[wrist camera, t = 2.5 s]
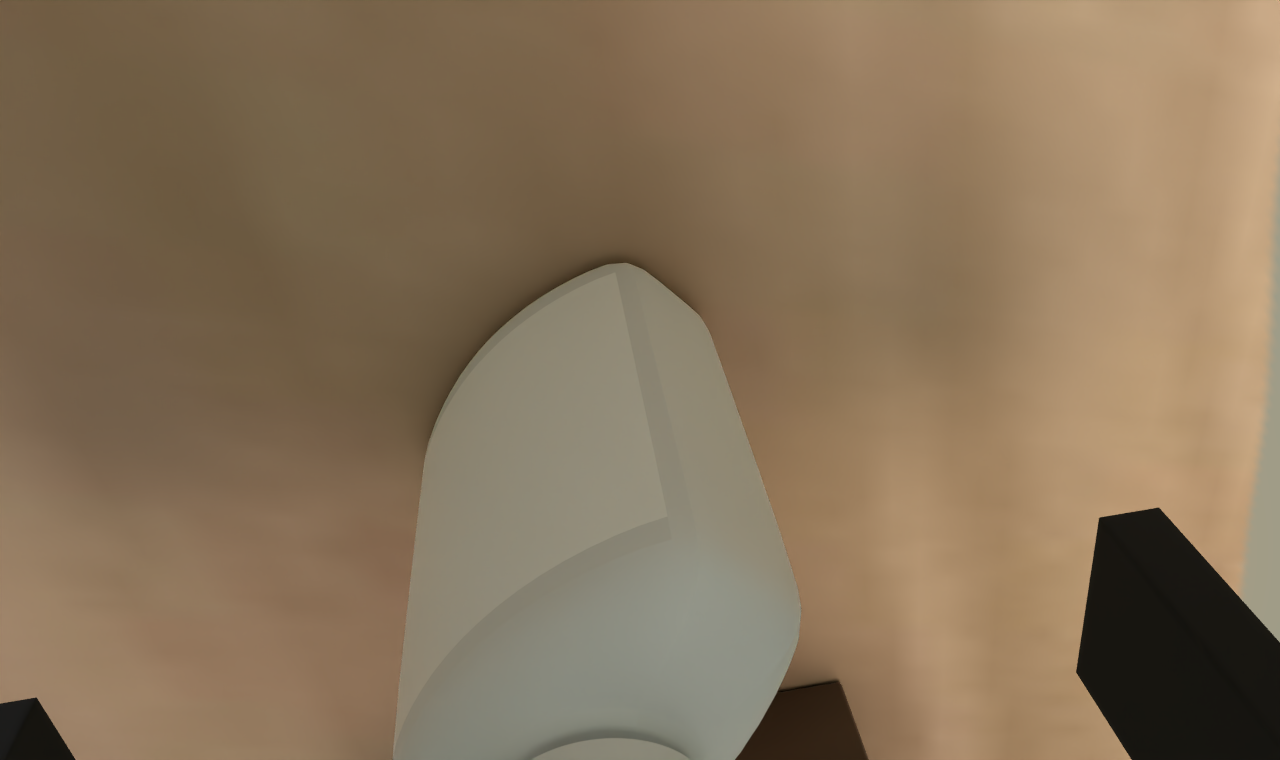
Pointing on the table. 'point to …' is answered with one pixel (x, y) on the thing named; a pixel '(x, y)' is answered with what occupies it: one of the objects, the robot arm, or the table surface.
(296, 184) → the table surface
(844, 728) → the dark brown wooden stand
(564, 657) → the eye dropper bottle
